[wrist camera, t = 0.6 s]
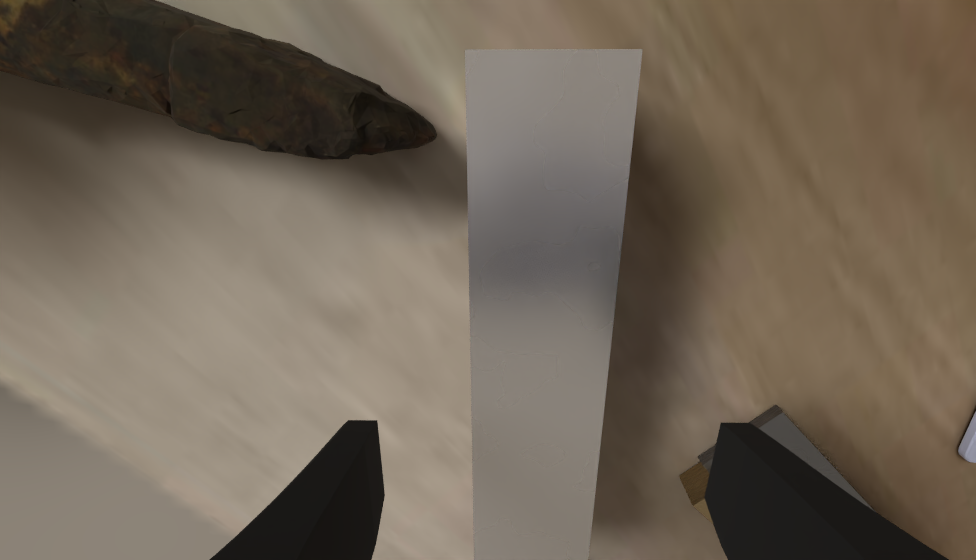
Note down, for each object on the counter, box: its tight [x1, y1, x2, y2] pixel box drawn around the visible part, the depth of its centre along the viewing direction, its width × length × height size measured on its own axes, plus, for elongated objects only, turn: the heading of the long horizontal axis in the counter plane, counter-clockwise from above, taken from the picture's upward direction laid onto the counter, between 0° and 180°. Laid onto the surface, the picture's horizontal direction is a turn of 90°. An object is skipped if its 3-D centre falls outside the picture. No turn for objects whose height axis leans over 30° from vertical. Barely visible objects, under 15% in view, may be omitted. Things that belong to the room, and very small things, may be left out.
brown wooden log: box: [0, 0, 437, 159], centre depth 13 cm, size 19×4×5 cm, turn 71°
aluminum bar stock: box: [465, 49, 642, 560], centre depth 16 cm, size 4×16×6 cm, turn 0°
